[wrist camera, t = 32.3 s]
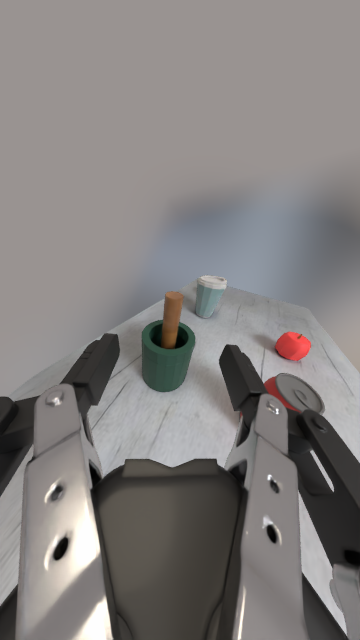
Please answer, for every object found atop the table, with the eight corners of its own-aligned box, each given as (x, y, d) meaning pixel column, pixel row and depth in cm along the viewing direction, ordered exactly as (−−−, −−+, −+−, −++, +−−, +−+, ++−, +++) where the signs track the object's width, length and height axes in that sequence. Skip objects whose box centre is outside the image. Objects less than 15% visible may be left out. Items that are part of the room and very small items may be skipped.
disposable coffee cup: (189, 317, 52) (197, 278, 43) (191, 305, 60) (199, 271, 52) (216, 323, 51) (230, 285, 43) (215, 310, 60) (226, 276, 52)
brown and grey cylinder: (152, 374, 29) (156, 298, 19) (158, 358, 32) (164, 287, 22) (172, 379, 29) (187, 304, 19) (176, 362, 32) (189, 292, 22)
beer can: (250, 452, 21) (297, 422, 15) (233, 406, 27) (262, 369, 20) (286, 448, 22) (346, 419, 16) (262, 405, 28) (299, 369, 21)
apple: (272, 356, 40) (287, 336, 36) (270, 341, 46) (284, 322, 42) (303, 369, 38) (324, 349, 33) (297, 351, 44) (314, 332, 39)
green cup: (135, 386, 27) (132, 347, 21) (150, 350, 35) (152, 315, 29) (182, 397, 27) (193, 361, 21) (187, 358, 35) (196, 324, 29)
